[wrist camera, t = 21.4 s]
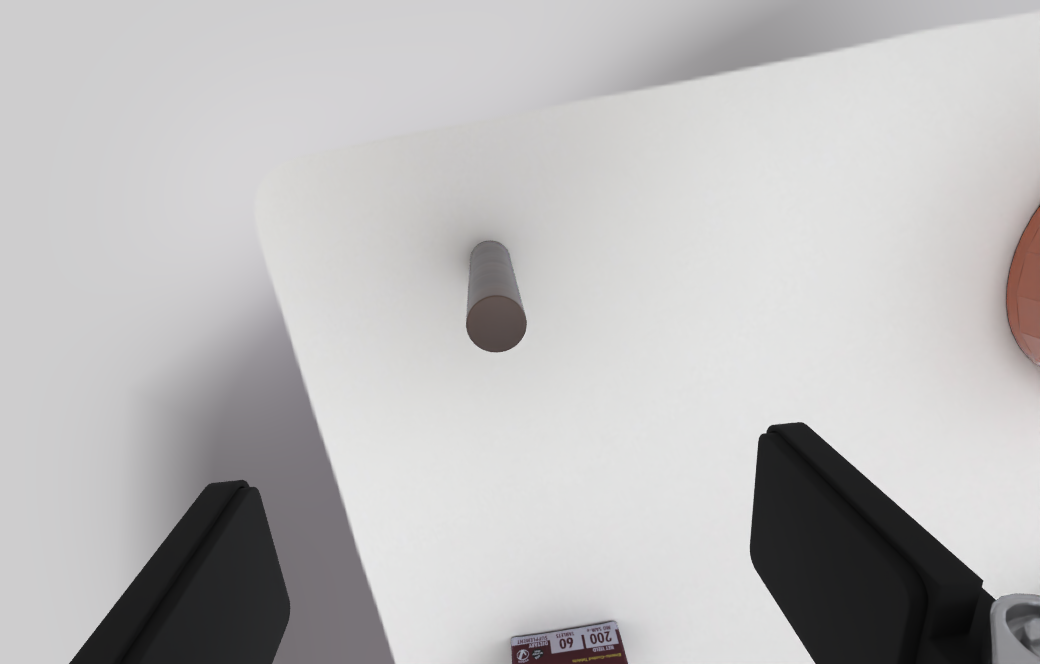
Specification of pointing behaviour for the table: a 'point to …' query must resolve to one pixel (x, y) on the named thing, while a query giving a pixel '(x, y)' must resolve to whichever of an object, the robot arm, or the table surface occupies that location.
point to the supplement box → (571, 646)
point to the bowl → (1026, 291)
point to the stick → (494, 300)
